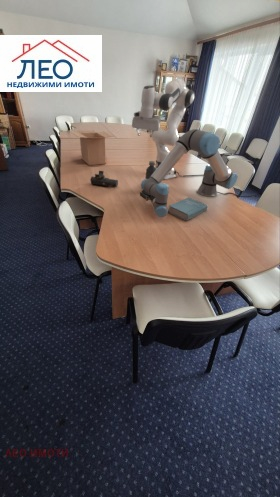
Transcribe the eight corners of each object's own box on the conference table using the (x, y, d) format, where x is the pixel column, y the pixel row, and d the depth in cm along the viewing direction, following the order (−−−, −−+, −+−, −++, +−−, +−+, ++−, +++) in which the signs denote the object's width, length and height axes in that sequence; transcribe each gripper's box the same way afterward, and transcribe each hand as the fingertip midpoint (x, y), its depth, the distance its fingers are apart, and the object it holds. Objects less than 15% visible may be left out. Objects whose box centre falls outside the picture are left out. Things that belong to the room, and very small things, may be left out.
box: (116, 165, 229) (116, 136, 213) (83, 168, 214) (80, 137, 198) (102, 154, 259) (101, 128, 243) (71, 156, 244) (68, 129, 228)
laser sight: (115, 189, 177) (115, 177, 171) (88, 185, 180) (87, 173, 174) (118, 185, 185) (118, 173, 179) (93, 181, 188) (92, 169, 182)
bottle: (147, 190, 180) (149, 160, 166) (155, 192, 178) (159, 162, 164) (142, 193, 175) (145, 162, 161) (151, 195, 172) (154, 164, 158)
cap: (150, 163, 165) (150, 160, 164) (155, 164, 164) (156, 161, 163) (148, 164, 162) (148, 162, 161) (153, 166, 161) (153, 163, 160)
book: (187, 203, 164) (188, 197, 161) (206, 211, 155) (207, 205, 152) (167, 212, 150) (168, 205, 147) (187, 221, 142) (188, 214, 139)
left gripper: (162, 115, 154) (159, 137, 162) (134, 112, 158) (133, 134, 166) (159, 116, 149) (157, 138, 157) (131, 112, 153) (130, 135, 161)
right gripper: (138, 207, 148) (135, 194, 165) (174, 207, 152) (167, 194, 169) (139, 196, 144) (135, 184, 161) (176, 197, 147) (169, 185, 164)
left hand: (144, 136), depth 162 cm, fingers open, 8 cm apart
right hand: (152, 190), depth 165 cm, fingers open, 13 cm apart
